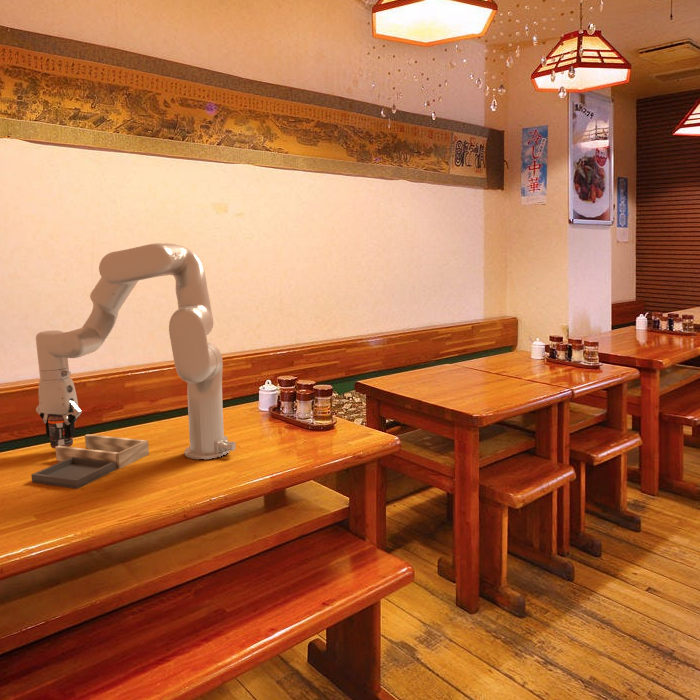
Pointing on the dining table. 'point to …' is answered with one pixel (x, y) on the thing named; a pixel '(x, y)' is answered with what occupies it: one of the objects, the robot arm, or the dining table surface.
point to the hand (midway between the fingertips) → (61, 435)
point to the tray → (74, 472)
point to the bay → (106, 450)
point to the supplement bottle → (58, 431)
